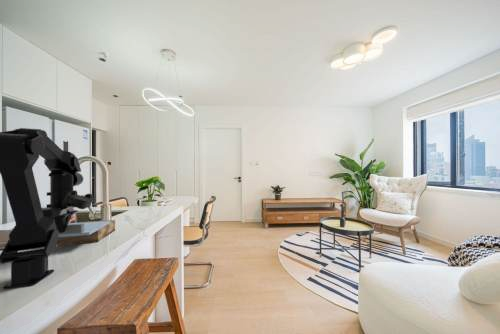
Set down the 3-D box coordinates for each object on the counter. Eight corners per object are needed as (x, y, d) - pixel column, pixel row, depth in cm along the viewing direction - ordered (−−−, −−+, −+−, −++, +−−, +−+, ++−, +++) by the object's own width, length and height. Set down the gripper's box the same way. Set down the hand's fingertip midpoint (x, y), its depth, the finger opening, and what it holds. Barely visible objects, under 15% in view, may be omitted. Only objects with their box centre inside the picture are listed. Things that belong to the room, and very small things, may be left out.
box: (97, 241, 74) (97, 229, 74) (56, 245, 71) (56, 232, 71) (115, 230, 88) (115, 220, 88) (80, 232, 84) (80, 222, 84)
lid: (89, 234, 68) (89, 224, 68) (39, 238, 64) (39, 227, 64) (110, 223, 82) (110, 214, 82) (70, 225, 79) (70, 216, 79)
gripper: (70, 191, 58) (70, 240, 58) (102, 185, 76) (102, 223, 76) (25, 192, 55) (25, 244, 55) (70, 186, 73) (70, 225, 73)
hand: (62, 232), depth 65 cm, fingers closed
